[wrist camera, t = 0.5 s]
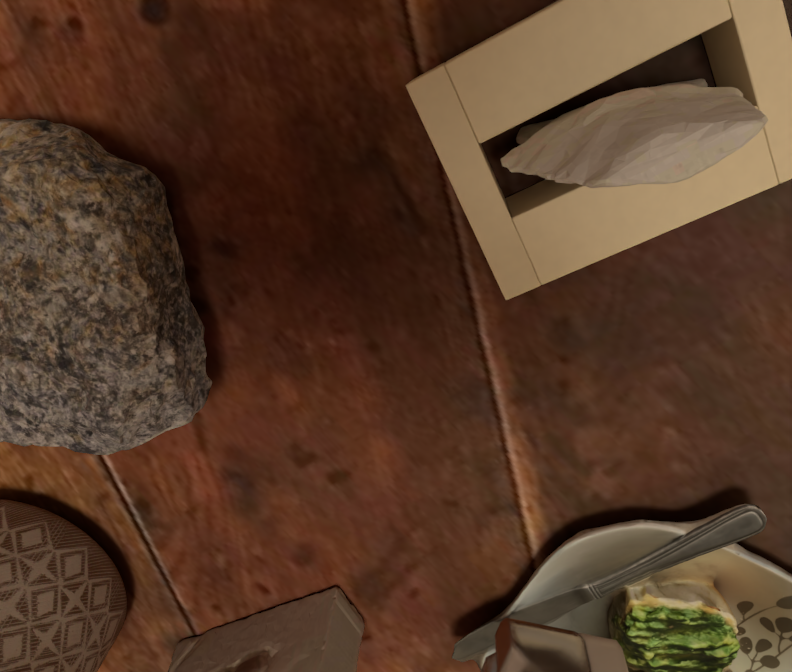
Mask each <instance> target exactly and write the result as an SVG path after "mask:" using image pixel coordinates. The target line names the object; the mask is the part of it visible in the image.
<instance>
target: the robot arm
mask: <svg viewBox="0 0 792 672" xmlns="http://www.w3.org/2000/svg"><path fill="white" fill-rule="evenodd" d="M495 649H496V652H495V653H493V654H491V655H489V656H487V657H486V658H485V661H484V664H483V667H482V669H481V672H629V671H628V667H627V663H626V660H625V656H624V653H623V649H622V647H621V646H620V645H619V643H618V642H617V640H612V639H607V638H602V637H598V636H593V635H588V634H583V633H577V632H575V631H571V630H566V629H561V628H556V627H551V626H546V625H541V624H536V623H531V622H526V621H521V620H516V619H511V618H506V617H505V618H504V619H503V620H502V621H501V622H500V624H499V627H498V629H497V631H496V634H495Z"/></svg>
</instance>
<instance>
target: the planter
mask: <svg viewBox="0 0 792 672" xmlns="http://www.w3.org/2000/svg"><path fill="white" fill-rule="evenodd" d="M126 611H127V597H126V591H125V587H124V584H123V581H122V578H121V576H120V574H119V572H118V570H117V568H116V566H115V565H114V563H113V562H112V560H111V559H110V558H109V556H108V555H107V554H106V552H105V551H104V550H103V549H102V548H101V547H100V546H99V545H98V544H97V543H96V542H95V541H94V540H93V539H92V538H91V537H90V536H88V535H87V534H86V533H85V532H83V531H82V530H81V529H79V528H78V527H76V526H75V525H73V524H72V523H70V522H69V521H67V520H65V519H63V518H62V517H60V516H58V515H56V514H54V513H51V512H49V511H47V510H44V509H41V508H39V507H36V506H33V505H29V504H26V503H22V502H17V501H12V500H4V499H0V672H97V671H98V669H99V667H100V666H101V664H102V662H103V660H104V659H105V657H106V655H107V653H108V652H109V650H110V648H111V646H112V645H113V643H114V641H115V639H116V638H117V636H118V634H119V632H120V630H121V628H122V626H123V624H124V621H125V617H126Z"/></svg>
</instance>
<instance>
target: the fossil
mask: <svg viewBox="0 0 792 672" xmlns="http://www.w3.org/2000/svg"><path fill="white" fill-rule="evenodd" d="M363 630H364V622H363V619H362V617H361V616H360V614H358V613H357V611H356V609H355V607H354V606H353V605H351V604H350V603H349V601H348V600H347V599H346V596H345V595H344V594H343V592H342V590H341V589H340V588H338V587H334V588H332V589H329V590H326V591H324V592H322V593H316V594H314V595H312V596H308V597H305V598H303V599H300V600H297V601H293V602H290V603H287V604H284V605H280V606H277V607H276V608H273V609H271V610H268V611H264V612H262V613H257V614H255V615H252V616H250V617H248V618H247V619H244V620H239V621H236V622H233V623H230V624H227V625H224V626H222V627H217V628H214V629H212V630H210V631H207V632H206V633H205V634H204V635H202V636H199V637H193V638H188V639H184V640H183V641H181V642H179V643H178V644H177V646H176V649H175V651H174V654H173V657H172V662H171V664H170V667H169V670H168V672H356V670H357V661H358V654H359V647H360V644H361V640H362V637H361V636H362V635H363Z"/></svg>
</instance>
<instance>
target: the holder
mask: <svg viewBox="0 0 792 672" xmlns="http://www.w3.org/2000/svg"><path fill="white" fill-rule="evenodd" d="M699 34H701V35H702V39H703V42H704V46H705V49H706V52H707V56H708V59H709V62H710V66H711V69H712V73H713V76H714V79H715V83H716V86H717V87H734V88H737V89H739V90H740V91H741V92H742V94H743V97H744V98H745V99H746V100H748V101H749V102H751V103H752V105H753V106H755V108H756V109H758V110H760V111H762V112H763V114H764V115H766V117H767V119H768V122H767V123H766V125H765V126H764V128H763V129H762V130H761V131H760V132H759V133H758V134H757V135H756V136H755V137H754V138H752V139H751V140H750V141H749V142H748V143H746V144H745V145H744V146H743V147H742V148H740V149H738V150H737V151H735V152H733V153H732V154H730V155H728V156H726V157H725V158H724V159H722V160H721V161H719V162H718V163H716V164H715V165H713V166H711V167H709V168H707V169H705V170H704V171H702V172H700V173H698V174H696V175H694V176H692V177H691V178H689V179H686V180H683V181H680V182H677V183H668V184H636V185H630V186H619V187H599V188H589V187H586V186H582V185H580V184H577V183H572V184H567V183H557V182H555V180H546V179H545V180H543V181H541V182H539V183H537V184H535V185H532V186H530V187H528V188H526V189H524V190H522V191H520V192H518V193H515V194H513V195H511V196H509V197H507V198H506V200H505V197H504V195H503V193H502V190H501V188H500V186H499V184H498V181H497V179H496V177H495V175H494V172H493V170H492V168H491V165H490V163H489V161H488V159H487V156H486V154H485V152H484V150H483V147H482V145H481V143H483V142H485V141H487V140H489V139H491V138H493V137H495V136H497V135H499V134H501V133H503V132H505V131H507V130H509V129H511V128H513V127H515V126H517V125H519V124H521V123H523V122H525V121H527V120H529V119H531V118H533V117H535V116H537V115H539V114H541V113H543V112H545V111H547V110H549V109H551V108H553V107H555V106H557V105H559V104H561V103H563V102H565V101H567V100H569V99H571V98H573V97H575V96H577V95H579V94H581V93H583V92H585V91H587V90H589V89H591V88H593V87H595V86H597V85H599V84H601V83H603V82H605V81H607V80H609V79H611V78H613V77H615V76H617V75H619V74H621V73H623V72H625V71H627V70H629V69H631V68H633V67H635V66H637V65H639V64H641V63H643V62H645V61H647V60H649V59H651V58H653V57H655V56H657V55H659V54H661V53H663V52H665V51H667V50H669V49H671V48H673V47H675V46H677V45H679V44H681V43H683V42H685V41H687V40H689V39H691V38H693V37H695V36H697V35H699ZM406 88H407V91H408V93H409V95H410V97H411V99H412V101H413V103H414V106H415V108H416V110H417V112H418V114H419V116H420V118H421V120H422V123H423V125H424V127H425V129H426V131H427V133H428V135H429V138H430V140H431V142H432V144H433V146H434V148H435V150H436V153H437V155H438V157H439V159H440V161H441V163H442V165H443V168H444V170H445V172H446V174H447V176H448V178H449V180H450V182H451V185H452V187H453V189H454V191H455V193H456V195H457V197H458V200H459V202H460V204H461V206H462V208H463V210H464V212H465V215H466V217H467V219H468V221H469V223H470V225H471V227H472V230H473V232H474V234H475V236H476V238H477V240H478V242H479V244H480V247H481V249H482V251H483V253H484V255H485V257H486V259H487V262H488V264H489V266H490V268H491V270H492V272H493V274H494V277H495V279H496V281H497V283H498V285H499V287H500V289H501V291H502V294H503V296H504V298H505V300H508V299H511V298H513V297H515V296H518V295H520V294H522V293H525V292H527V291H529V290H532V289H534V288H537V287H539V286H541V285H543V284H546V283H548V282H550V281H553V280H555V279H557V278H560V277H562V276H564V275H567V274H569V273H571V272H574V271H576V270H578V269H581V268H583V267H586V266H588V265H590V264H593V263H595V262H597V261H600V260H602V259H604V258H607V257H609V256H611V255H614V254H616V253H618V252H621V251H623V250H625V249H628V248H630V247H633V246H635V245H637V244H640V243H642V242H644V241H647V240H649V239H651V238H654V237H656V236H658V235H661V234H663V233H665V232H668V231H670V230H673V229H675V228H677V227H680V226H682V225H684V224H687V223H689V222H691V221H694V220H696V219H698V218H701V217H703V216H705V215H708V214H710V213H712V212H715V211H717V210H720V209H722V208H724V207H727V206H729V205H731V204H734V203H736V202H738V201H741V200H743V199H745V198H748V197H750V196H752V195H755V194H757V193H759V192H762V191H764V190H767V189H769V188H771V187H774V186H776V185H778V183H783V182H785V181H788V180H790V179H792V38H791V34H790V29H789V25H788V21H787V17H786V13H785V9H784V5H783V1H782V0H558V1H556V2H554V3H553V4H551V5H549V6H547V7H545V8H543V9H542V10H540V11H538V12H536V13H534V14H532V15H531V16H529V17H527V18H525V19H523V20H521V21H520V22H518V23H516V24H514V25H512V26H510V27H508V28H507V29H505V30H503V31H501V32H499V33H497V34H496V35H494V36H492V37H490V38H488V39H486V40H485V41H483V42H481V43H479V44H477V45H475V46H474V47H472V48H470V49H468V50H466V51H464V52H463V53H461V54H459V55H457V56H455V57H453V58H451V59H450V60H448V61H447V62H446V63H442V64H440V65H439V66H437V67H435V68H433V69H431V70H429V71H428V72H426V73H424V74H422V75H420V76H418V77H416V78H415V79H413V80H411V81H410V82H409V83H408V84H407V85H406Z"/></svg>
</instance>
